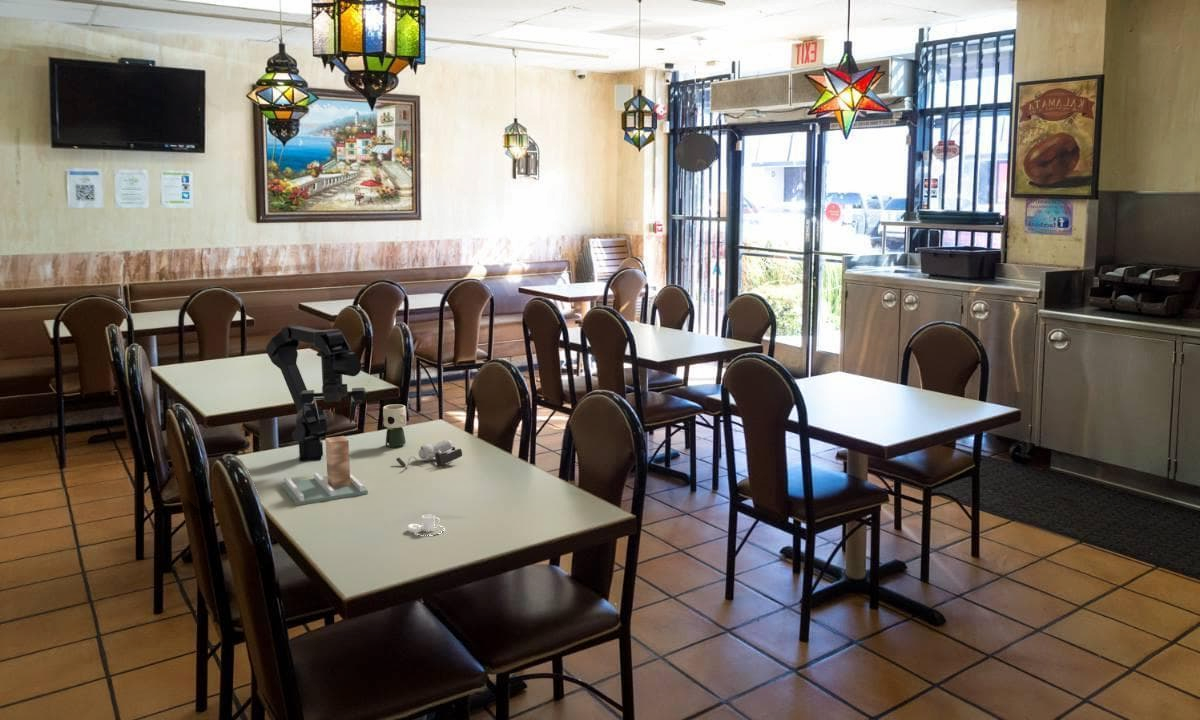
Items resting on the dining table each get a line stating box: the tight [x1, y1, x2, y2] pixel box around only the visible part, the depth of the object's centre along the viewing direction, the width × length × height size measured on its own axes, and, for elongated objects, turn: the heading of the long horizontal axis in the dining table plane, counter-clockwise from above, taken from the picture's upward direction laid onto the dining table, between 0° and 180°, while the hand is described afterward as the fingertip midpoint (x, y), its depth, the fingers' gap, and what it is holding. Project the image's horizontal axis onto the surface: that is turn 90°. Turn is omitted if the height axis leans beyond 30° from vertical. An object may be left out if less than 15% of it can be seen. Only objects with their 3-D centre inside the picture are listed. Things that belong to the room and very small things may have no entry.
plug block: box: [324, 435, 351, 488], centre depth 263 cm, size 5×5×13 cm
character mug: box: [382, 403, 407, 448], centre depth 305 cm, size 11×7×13 cm, turn 51°
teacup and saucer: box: [406, 513, 446, 537], centre depth 232 cm, size 9×8×4 cm
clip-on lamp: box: [395, 438, 463, 468], centre depth 287 cm, size 12×6×18 cm
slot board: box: [281, 472, 369, 506], centre depth 262 cm, size 18×19×2 cm
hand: (334, 423), depth 282 cm, fingers open, 9 cm apart
